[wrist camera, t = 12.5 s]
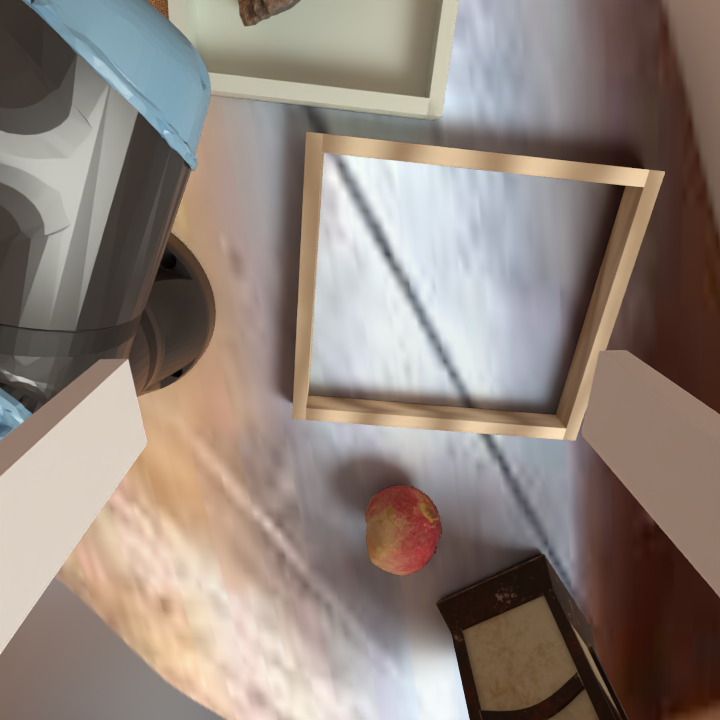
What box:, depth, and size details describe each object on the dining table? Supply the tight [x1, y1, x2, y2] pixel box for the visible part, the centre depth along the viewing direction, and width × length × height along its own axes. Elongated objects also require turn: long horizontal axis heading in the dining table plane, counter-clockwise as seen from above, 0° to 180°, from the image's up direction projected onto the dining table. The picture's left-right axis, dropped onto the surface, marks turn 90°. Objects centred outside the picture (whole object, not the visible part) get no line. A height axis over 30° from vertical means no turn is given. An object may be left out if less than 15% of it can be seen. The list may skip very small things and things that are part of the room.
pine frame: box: [292, 132, 665, 441], centre depth 39 cm, size 26×23×2 cm
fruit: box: [366, 485, 442, 575], centre depth 45 cm, size 8×8×8 cm
